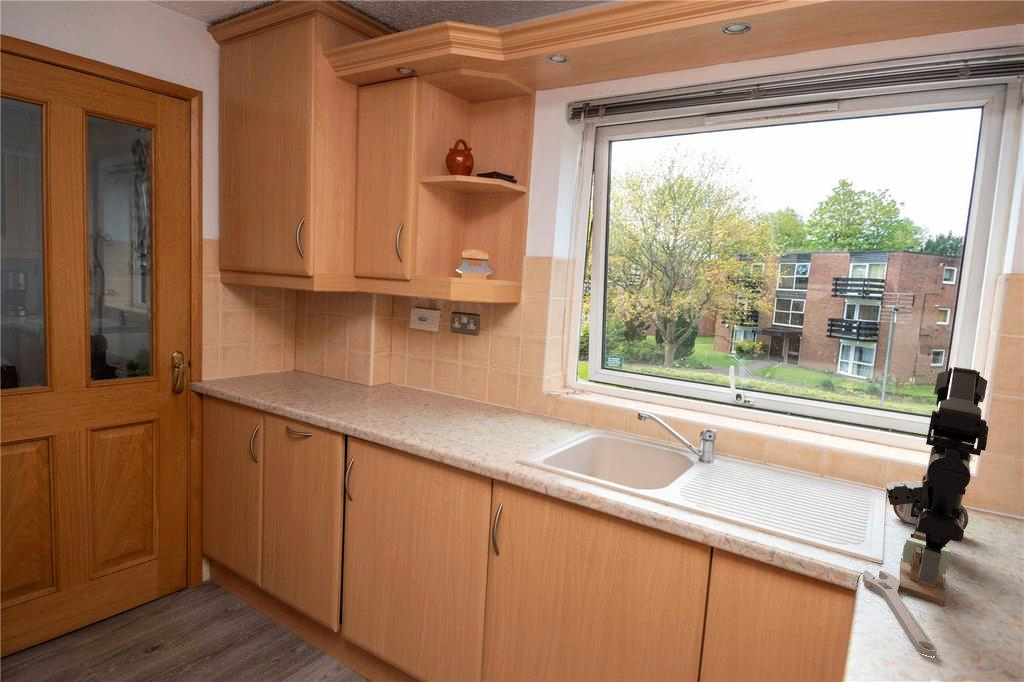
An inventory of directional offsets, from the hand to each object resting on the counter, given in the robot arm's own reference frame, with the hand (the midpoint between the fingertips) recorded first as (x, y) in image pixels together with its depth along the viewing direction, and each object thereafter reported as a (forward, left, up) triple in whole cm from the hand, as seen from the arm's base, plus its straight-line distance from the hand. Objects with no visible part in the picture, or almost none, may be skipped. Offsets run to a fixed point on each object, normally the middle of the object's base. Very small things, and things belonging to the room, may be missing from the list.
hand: (929, 556), depth 106 cm
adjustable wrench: (+8, -4, -9) cm, 13 cm away
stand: (-7, 0, -9) cm, 11 cm away
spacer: (-9, 0, -6) cm, 10 cm away
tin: (-42, +2, -9) cm, 42 cm away
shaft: (-2, 0, -4) cm, 4 cm away
